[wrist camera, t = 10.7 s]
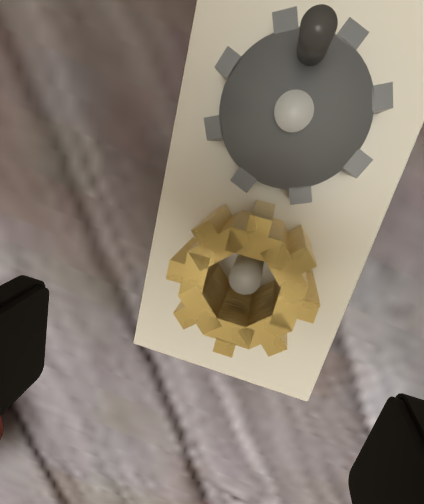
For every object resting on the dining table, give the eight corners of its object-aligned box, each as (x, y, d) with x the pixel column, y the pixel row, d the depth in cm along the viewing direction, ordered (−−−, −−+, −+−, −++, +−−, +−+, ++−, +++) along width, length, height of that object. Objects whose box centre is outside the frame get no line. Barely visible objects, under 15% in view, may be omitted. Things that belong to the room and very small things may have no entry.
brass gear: (204, 185, 19) (182, 196, 15) (330, 218, 18) (344, 240, 14) (180, 296, 22) (155, 332, 17) (291, 330, 21) (292, 377, 16)
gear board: (212, -30, 17) (168, -138, 11) (455, 16, 16) (574, -74, 10) (142, 332, 25) (90, 398, 18) (306, 386, 23) (314, 480, 17)
